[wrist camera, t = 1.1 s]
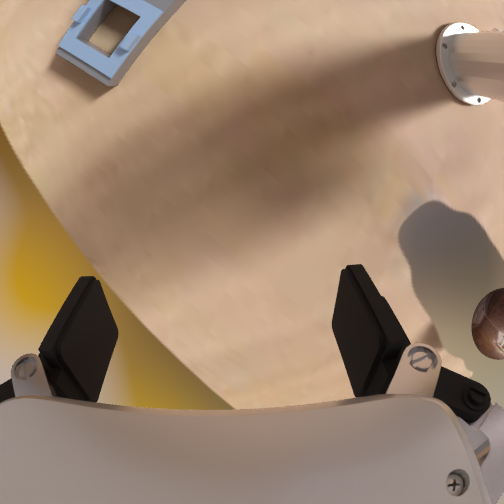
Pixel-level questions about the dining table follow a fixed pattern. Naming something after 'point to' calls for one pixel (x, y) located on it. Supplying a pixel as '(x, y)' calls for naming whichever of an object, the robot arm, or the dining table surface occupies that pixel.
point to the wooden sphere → (490, 325)
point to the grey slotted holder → (116, 65)
